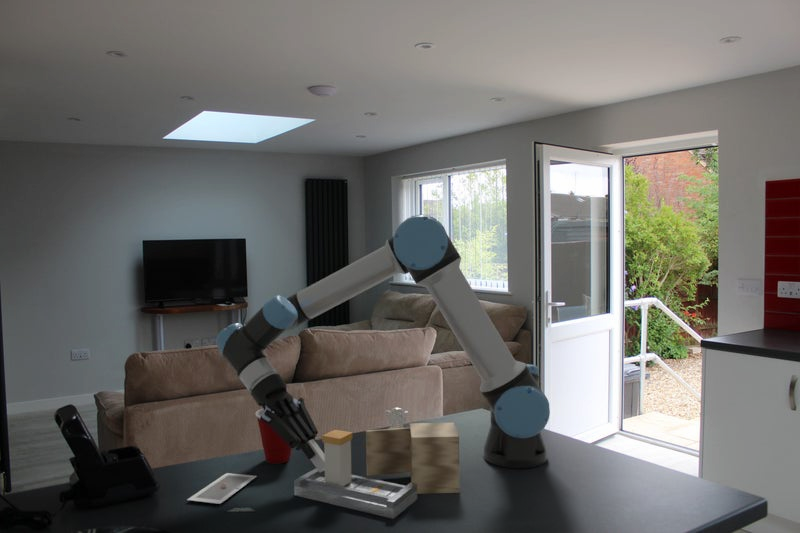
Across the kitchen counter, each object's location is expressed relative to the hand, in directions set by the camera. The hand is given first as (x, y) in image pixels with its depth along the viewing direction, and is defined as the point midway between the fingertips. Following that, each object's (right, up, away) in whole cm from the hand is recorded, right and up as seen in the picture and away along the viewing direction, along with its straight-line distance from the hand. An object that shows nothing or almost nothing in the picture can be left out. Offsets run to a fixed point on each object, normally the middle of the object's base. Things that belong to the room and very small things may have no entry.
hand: (325, 467), depth 128 cm
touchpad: (-22, -6, +1) cm, 23 cm away
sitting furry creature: (+15, -4, +21) cm, 26 cm away
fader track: (+7, -5, -3) cm, 9 cm away
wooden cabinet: (+19, -5, +3) cm, 19 cm away
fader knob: (+3, -3, -1) cm, 4 cm away
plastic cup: (-14, -5, +19) cm, 24 cm away
